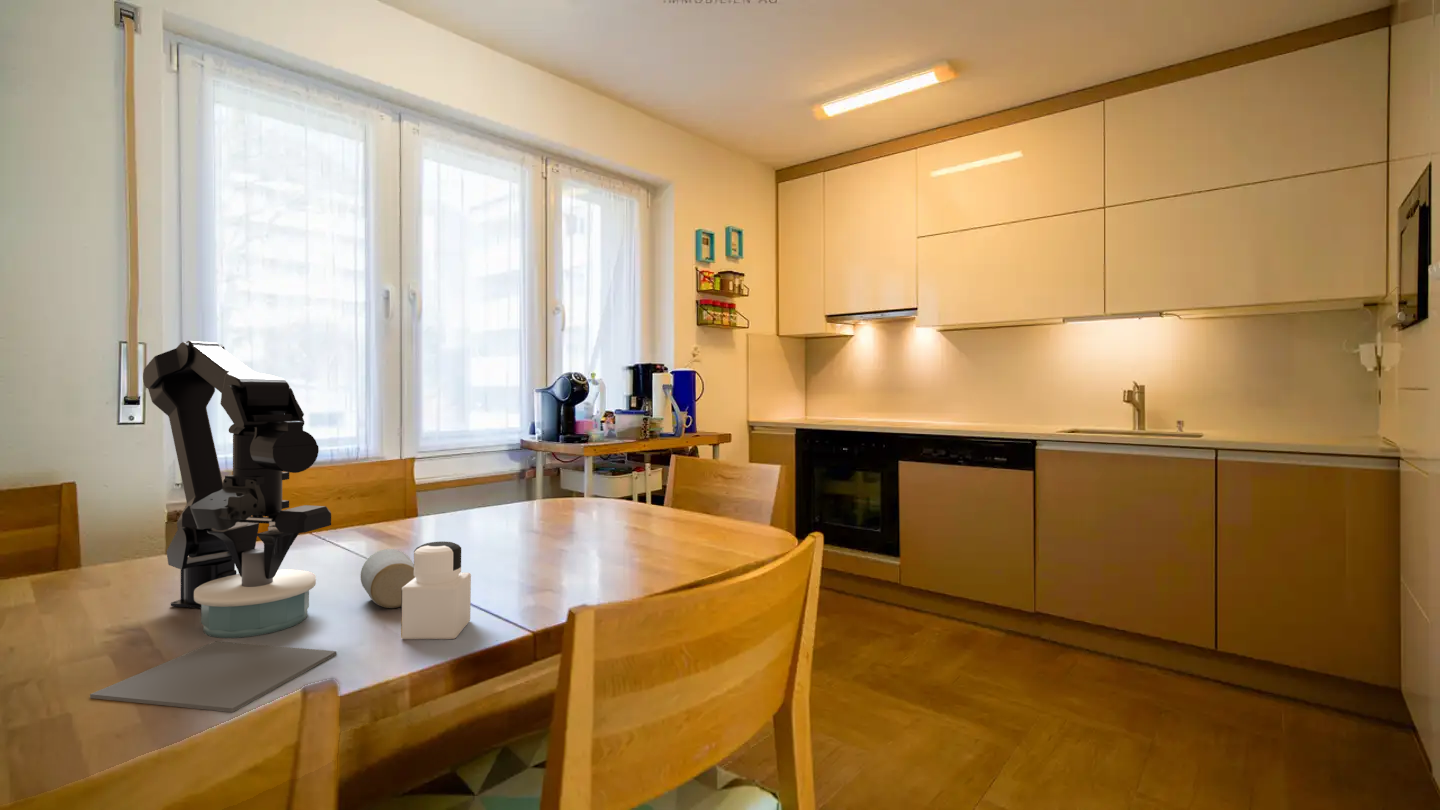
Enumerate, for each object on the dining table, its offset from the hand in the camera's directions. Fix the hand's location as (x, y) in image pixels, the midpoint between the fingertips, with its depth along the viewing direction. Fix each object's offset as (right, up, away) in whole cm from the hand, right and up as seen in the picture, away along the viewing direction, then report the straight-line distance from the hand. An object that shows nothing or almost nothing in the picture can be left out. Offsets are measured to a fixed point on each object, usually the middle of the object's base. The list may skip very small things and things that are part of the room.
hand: (257, 577), depth 93 cm
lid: (0, -2, 0) cm, 2 cm away
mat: (+8, -7, -17) cm, 19 cm away
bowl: (0, -6, 0) cm, 6 cm away
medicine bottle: (+26, -7, -1) cm, 27 cm away
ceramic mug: (+15, -7, +11) cm, 20 cm away
